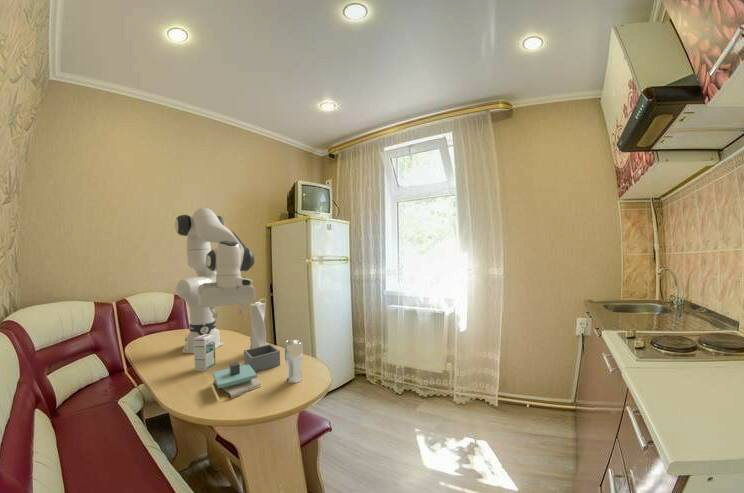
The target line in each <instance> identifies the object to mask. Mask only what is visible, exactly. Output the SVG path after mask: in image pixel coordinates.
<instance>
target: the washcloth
mask: <svg viewBox="0 0 744 493" xmlns="http://www.w3.org/2000/svg"><path fill="white" fill-rule="evenodd" d="M213 383H214V384H215V385H217V384H216V382H215V379H214V381H213ZM261 387H262V383H261V381H260V380H258V379H257V378H254V379H251V381H248V382H244V383H241V384H237V385H234V386H230V387H226V388H221V389H222V390H223V391H224V393H227V394H228V395H229V396H228V399H229V400H233V399H235V398H238V397H240V396H242V395H244V394H247V393H250V392H252V391H255V390H257V389H259V388H261Z"/></svg>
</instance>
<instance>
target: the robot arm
mask: <svg viewBox="0 0 744 493" xmlns="http://www.w3.org/2000/svg"><path fill="white" fill-rule="evenodd" d="M225 224H226V223H225V221H224V218H223V217H222V216H221V215H217V214H216V213H215V212H214V211H213V210H211V209H210V208H207V207H200V208H198V209H196V210H195V211H194V212H193V214H182V215H178V216H177V217H176V218H175V221H174V229H175V231H176V233H177V234H178V235H179V236H183V237H186V255H187V256H186V257H187V265H188V266H189V268H191V269H193V270H194V271H195V273H196V275H197V276H196V275H195V276H190V277H189V276H188V277H186V278H183V279H181V280H179V281H178V282H177V283H176V286H175V292H176V294H177V296H178V297H179V298H181V299H182V300H183V301H185V303H186V304H187V306H188V309H189V318H190V319H189V320H190V322H189V333H188V334H187V335H186V336H185V338H184V342H186V343H185V344H184V347H183V348H182V352H181V354H194V338H196V337H199V336H202V335H204V334H213V335H214V339H215V350H216V349H218V348H219V347H221V346H223V345H224V342H223V341H220V340H221V339H220V331H219V329H217V328H216V327H217V326H216V325H217V322H216V320H215V319H217V318H218V312H215V307H223V306H224V307H225V306H230V305H240V304H241V308H240V309H238V315H244V311H245V309H246V307H247V304H248V303H249V304H252V303H255V301H256V288H255V287H254V281H253V280H252V279H250V278H248V277H247V278H246V277H244V276H242V272H248V271H249V270H250V269H251V268H252V267H253V266H254V264H255V256H254V253H253V252H252V250H250V249H249V248H248V247H247V246H246V245H245V244H244V243H243V242H242V241H241V238H239V237H238V235H237V234H236V233H235V232H234V231H233V230H231V229H229V228H228V227H226V226H225ZM211 243H213V244H217V247H216V248H215V249H212V246H211Z"/></svg>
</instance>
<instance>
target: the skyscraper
mask: <svg viewBox="0 0 744 493" xmlns="http://www.w3.org/2000/svg"><path fill="white" fill-rule="evenodd" d="M264 300H265V302H263V303H262V302H261V301H264ZM266 303H267V299H266V298H260V299H259V300H258V301H256V302H255V301H254V303H249V312H250V321H251V330H250V331H251V333H250V335H251V336H250V338H249V339H250V346H249V349H252V348H256V347H261V346H265V345H267V334H266V324H265V317H266V305H267V304H266Z"/></svg>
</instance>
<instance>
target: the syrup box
mask: <svg viewBox="0 0 744 493" xmlns="http://www.w3.org/2000/svg"><path fill="white" fill-rule="evenodd" d="M193 354H194V371H196V372H208V370H209V369H211V368H212V367H214V366H216V349H215V339H214V335H213V334H204V335H202V336H199V337H196V338H194V353H193Z"/></svg>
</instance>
